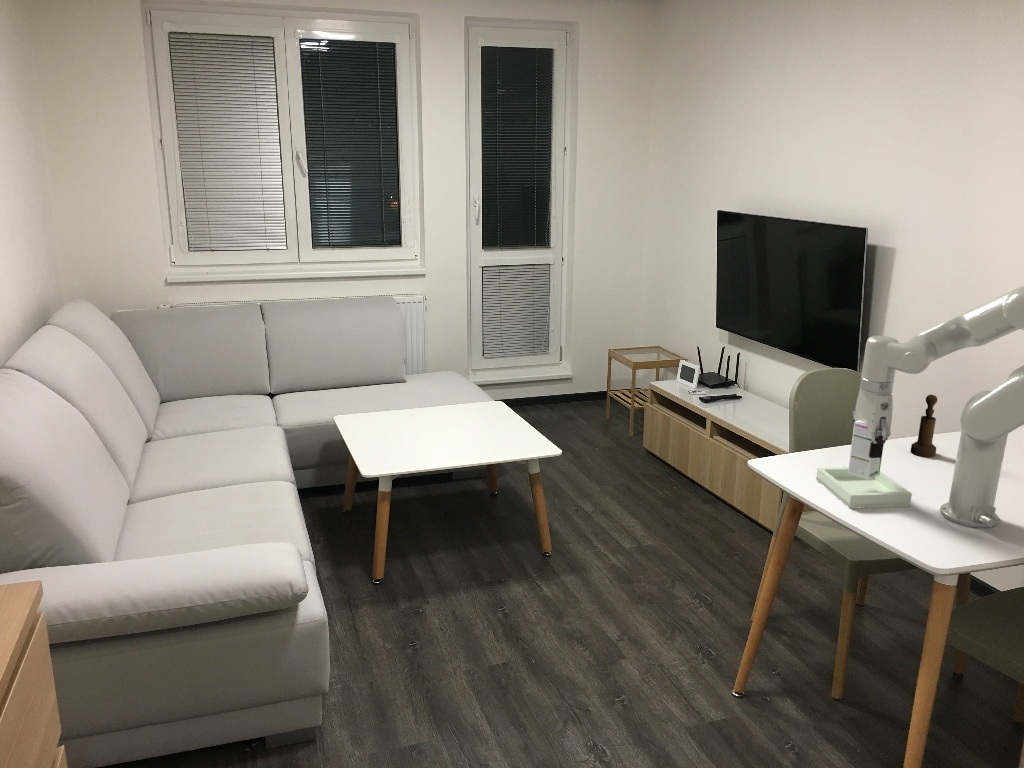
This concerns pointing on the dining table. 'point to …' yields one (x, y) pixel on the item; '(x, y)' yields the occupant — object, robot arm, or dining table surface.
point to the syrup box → (863, 453)
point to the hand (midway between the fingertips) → (866, 451)
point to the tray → (863, 489)
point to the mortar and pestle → (926, 431)
